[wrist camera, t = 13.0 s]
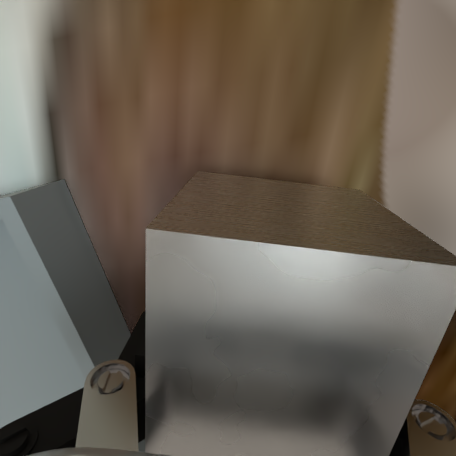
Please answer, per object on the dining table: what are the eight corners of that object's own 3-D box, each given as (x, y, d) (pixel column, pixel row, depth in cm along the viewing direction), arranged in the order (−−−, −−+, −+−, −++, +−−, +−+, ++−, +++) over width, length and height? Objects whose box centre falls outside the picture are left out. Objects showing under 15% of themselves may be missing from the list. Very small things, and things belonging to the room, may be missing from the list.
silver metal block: (298, 417, 15) (326, 592, 10) (182, 401, 15) (145, 564, 10) (359, 189, 11) (473, 268, 5) (197, 171, 11) (146, 228, 6)
